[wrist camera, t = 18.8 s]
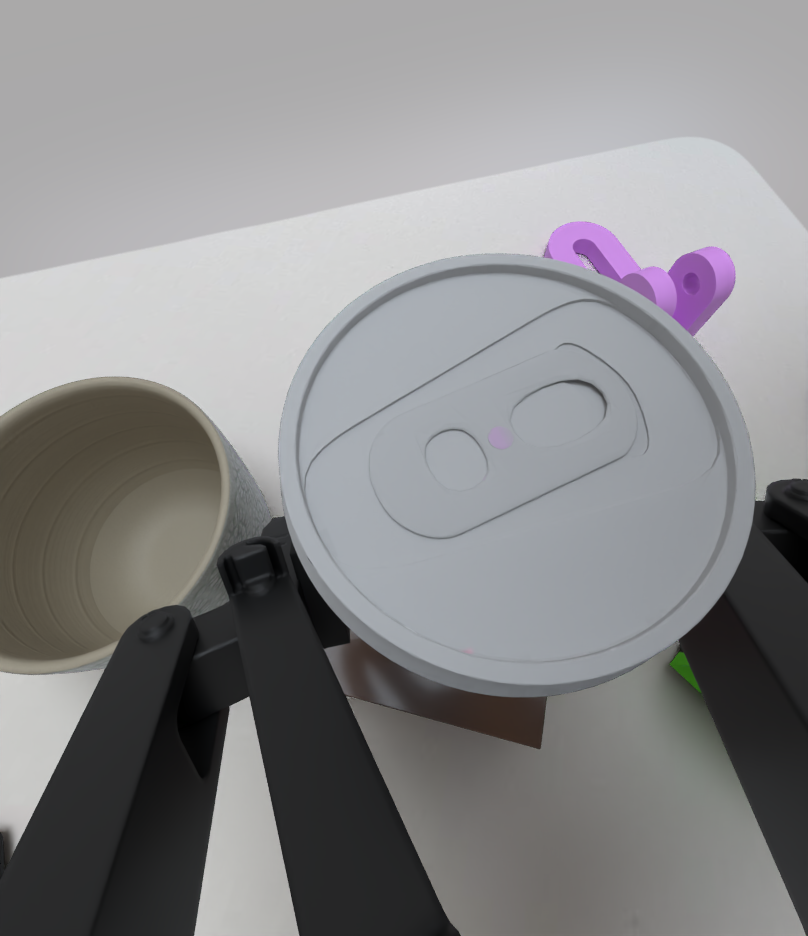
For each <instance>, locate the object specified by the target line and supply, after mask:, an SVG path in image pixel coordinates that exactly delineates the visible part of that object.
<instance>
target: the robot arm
mask: <svg viewBox="0 0 808 936" xmlns="http://www.w3.org/2000/svg"><path fill="white" fill-rule="evenodd" d="M217 568H218V570H219V573H220V576H221V578H222V581H223V583H224V586H225V589H226V591H227V594H228V596H229V601H228V602H227V603H225V604H224V605H222V606H220V607H217V608H215V609H213V610H211V611H208V612H206V613H203V614H201V615H198V616H196V617H194V618H193V617H192V615H191V612H190V611H189V610H188V609H187V608H186V607H185V606H180V605H171V606H164V607H162V608H159V609H156V610H152V611H150V612H148V613H147V614H145V615H143V616H141V617H140V618H139V619H137V620H136V621H135V622H134V623H133V624H131V625H130V626H129V627H128V628H127V630H126V631H125V632H124V634H123V635H122V636H121V638H120V640H119V642H118V644H117V646H116V648H115V650H114V652H113V654H112V656H111V658H110V660H109V662H108V664H107V666H106V668H105V670H104V672H103V674H102V676H101V678H100V680H99V682H98V684H97V686H96V688H95V690H94V692H93V694H92V696H91V698H90V700H89V702H88V704H87V706H86V708H85V710H84V712H83V714H82V716H81V718H80V720H79V722H78V724H77V726H76V729H75V731H74V733H73V735H72V737H71V739H70V741H69V743H68V745H67V747H66V749H65V751H64V753H63V755H62V757H61V759H60V761H59V763H58V765H57V767H56V769H55V771H54V773H53V775H52V777H51V779H50V781H49V783H48V785H47V787H46V789H45V791H44V793H43V795H42V797H41V799H40V801H39V803H38V805H37V807H36V809H35V811H34V813H33V815H32V817H31V819H30V821H29V823H28V825H27V827H26V829H25V831H24V833H23V835H22V837H21V839H20V841H19V843H18V845H17V847H16V849H15V851H14V853H13V855H12V857H11V859H10V861H9V863H8V865H7V867H6V869H5V871H4V873H3V875H2V877H1V879H0V936H194V932H195V926H196V919H197V913H198V907H199V900H200V894H201V887H202V881H203V875H204V868H205V862H206V856H207V849H208V843H209V836H210V830H211V824H212V817H213V811H214V805H215V798H216V792H217V785H218V779H219V773H220V766H221V760H222V754H223V747H224V741H225V734H226V728H227V722H228V715H229V706H230V705H232V704H235V703H237V702H239V701H241V700H243V699H245V698H247V697H249V696H250V701H251V706H252V711H253V716H254V720H255V725H256V730H257V735H258V739H259V744H260V749H261V754H262V759H263V763H264V768H265V773H266V778H267V783H268V787H269V792H270V797H271V802H272V806H273V811H274V816H275V821H276V826H277V830H278V835H279V840H280V845H281V849H282V854H283V859H284V864H285V869H286V873H287V878H288V883H289V888H290V893H291V897H292V902H293V907H294V912H295V916H296V921H297V926H298V931H299V936H461V935H460V934H459V932H458V930H457V929H456V928H455V927H454V926H453V925H452V924H451V923H450V921H449V920H448V918H447V916H446V914H445V912H444V910H443V908H442V906H441V904H440V902H439V900H438V898H437V895H436V893H435V891H434V889H433V887H432V885H431V882H430V880H429V878H428V876H427V874H426V871H425V869H424V867H423V865H422V863H421V860H420V858H419V856H418V854H417V852H416V849H415V847H414V845H413V843H412V841H411V839H410V836H409V834H408V832H407V830H406V828H405V825H404V823H403V821H402V819H401V817H400V814H399V812H398V810H397V808H396V806H395V803H394V801H393V799H392V797H391V795H390V793H389V790H388V788H387V786H386V784H385V782H384V779H383V777H382V775H381V773H380V771H379V768H378V766H377V764H376V762H375V760H374V757H373V755H372V753H371V751H370V749H369V747H368V744H367V742H366V740H365V738H364V736H363V733H362V731H361V729H360V727H359V725H358V722H357V720H356V718H355V716H354V714H353V711H352V709H351V707H350V705H349V703H348V701H347V698H346V696H345V694H344V692H343V690H342V687H341V685H340V683H339V681H338V679H337V676H336V674H335V672H334V670H333V668H332V665H331V663H330V661H329V659H328V657H327V655H326V652H325V650H324V649H325V648H329V647H334V646H339V645H344V644H348V643H350V628H349V627H348V626H347V625H345V624H344V623H343V622H342V620H341V619H340V618H339V617H338V616H337V615H336V614H335V613H334V612H333V610H332V609H331V608H330V607H329V606H328V604H327V603H326V602H325V600H324V599H323V598H322V596H321V595H320V594H319V592H318V591H317V589H316V588H315V586H314V585H313V583H312V581H311V580H310V578H309V577H308V575H307V573H306V571H305V569H304V567H303V565H302V563H301V561H300V559H299V557H298V555H297V552H296V550H295V548H294V545H293V542H292V539H291V536H290V533H289V530H288V527H287V523H286V519H285V516H283V517H278V518H273V519H272V520H271V521H270V522H269V523H268V524H267V525H266V526H265V528H264V529H263V531H262V534H261V536H259V537H253V538H249V539H245V540H243V541H241V542H238V543H236V544H234V545H232V546H231V547H229V548H228V549H227V550H225V551H224V552H223V553H222V554H221V555H220V557H219V558H218V560H217ZM679 642H680V645H681V647H682V649H683V652H684V654H685V656H686V659H687V661H688V663H689V665H690V668H691V670H692V672H693V675H694V677H695V679H696V682H697V684H698V686H699V688H700V691H701V693H702V695H703V698H704V700H705V702H706V705H707V707H708V709H709V711H710V714H711V716H712V718H713V721H714V723H715V725H716V728H717V730H718V732H719V734H720V737H721V739H722V741H723V744H724V746H725V748H726V751H727V753H728V755H729V757H730V760H731V762H732V764H733V767H734V769H735V771H736V774H737V776H738V778H739V780H740V783H741V785H742V787H743V790H744V792H745V794H746V797H747V799H748V801H749V803H750V806H751V808H752V810H753V813H754V815H755V817H756V820H757V822H758V824H759V826H760V829H761V831H762V833H763V836H764V838H765V840H766V843H767V845H768V847H769V849H770V852H771V854H772V856H773V859H774V861H775V863H776V866H777V868H778V870H779V872H780V875H781V877H782V879H783V882H784V884H785V886H786V889H787V891H788V893H789V895H790V898H791V900H792V902H793V905H794V907H795V909H796V912H797V914H798V916H799V918H800V921H801V923H802V925H803V928H804V931H805V933H806V936H808V480H807V479H803V480H801V479H792V480H780V481H776V482H773V483H771V484H770V485H769V486H768V487H767V491H766V496H765V501H755V506H754V514H753V522H752V526H751V530H750V534H749V538H748V541H747V545H746V548H745V551H744V554H743V557H742V559H741V561H740V563H739V565H738V567H737V570H736V572H735V574H734V576H733V577H732V579H731V581H730V583H729V584H728V586H727V588H726V590H725V591H724V593H723V594H722V595H721V597H720V598H719V599H718V601H717V602H716V603H715V605H714V606H713V607H712V608H711V609H710V611H709V612H708V613H707V614H706V615H705V616H704V617H703V619H702V620H701V621H700V622H699V623H698V624H696V625H695V626H694V627H693V628H692V629H691V630H690V631H689V632H688V633H687V634H685V635H684V636H683V637H681V638H680V639H679Z"/></svg>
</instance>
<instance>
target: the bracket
mask: <svg viewBox="0 0 808 936" xmlns="http://www.w3.org/2000/svg"><path fill="white" fill-rule="evenodd" d="M576 253H581V254H584V255H586V256H587V257H588V258H589V259H590V261H591V262H592V263H593V265H594V266H595V268H596V269H597V270H598V272H599V273H600V274H602V275H604V276H607V277H609V278H611V279H613V280H615V281H617V282H619V283H621V284H623V285H625V286H627V287H629V288H631V289H633V290H634V291H636V292H638V293H640V294H641V295H643V296H644V297H646V298H647V299H649V300H650V301H652V302H653V303H654V304H656V305H657V306H658V307H660V308H661V309H663V310H664V311H665V312H666V313H668V314H669V315H670V316H671V317H672V318H674V319H675V320H676V321H677V322H678V323H679V324H680V325H681V326H682V327H683V328H685V329H686V330H687V331H688V332H689V333H690V334H691V335H692V337H693V336H694V335H695V334H696V333H697V331H698V330H699V329H700V328H701V327H702V326H703V325H704V324H705V323H706V321H707V320H708V319H709V318H710V317H711V316H712V315H713V314H714V313H715V311H716V310H717V309H718V308H719V307H720V306H721V305H722V304H723V303H724V301H725V300H726V299H727V298H728V297H729V295H730V294H731V292H732V290H733V287H734V284H735V268H734V264H733V262H732V260H731V258H730V256H729V255H728V254H727V253H726V252H725V251H723V250H722V249H720V248H717V247H705V248H703V249H700V250H697V251H694V252H691V253H688V254H685V255H683V256H681V257H680V258H679V259H678V260H677V261H676V262H675V263H674V265H673V266H672V267H671V269H670V270H669V272H668V273H667V272H665V271H664V270H663V269H661V268H659V267H648V268H645V269H642V270H641V269H640V267H639V266H638V265H637V263H636V262H635V261H634V260H633V258H632V257H631V256H630V255H629V253H628V252H627V251H626V249H625V248H624V247H623V246H622V244H621V243H620V242H619V241H618V239H617V238H616V237H615V236H614V235H613V234H612V233H611V232H610V231H609V230H607V229H606V228H604V227H602V226H600V225H597V224H594V223H590V222H571V223H567V224H565V225H562V226H560V227H559V228H557V229H556V230H555V231H554V232H553V233H552V235H551V237H550V239H549V242H548V245H547V248H546V251H545V254H544V258H550V259H554V260H558V261H563V262H567V263H570V264H574V265H577V266H581V267H583V268H586V267H585V265H584V264H583V263H582V261H581V260H580V258H579V257H578V256H577V254H576ZM586 269H587V268H586Z"/></svg>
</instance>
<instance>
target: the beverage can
mask: <svg viewBox="0 0 808 936" xmlns="http://www.w3.org/2000/svg"><path fill="white" fill-rule="evenodd" d="M278 460H279V474H280V483H281V496H282V503H283V510H284V514H285V519H286V523H287V527H288V530H289V533H290V536H291V539H292V542H293V545H294V548H295V550H296V552H297V555H298V557H299V559H300V561H301V563H302V565H303V567H304V569H305V571H306V573H307V575H308V577H309V578H310V580H311V581H312V583H313V585H314V586H315V588H316V589H317V591H318V592H319V594H320V595H321V596H322V598H323V599H324V600H325V602H326V603H327V604H328V606H329V607H330V608H331V609H332V610H333V612H334V613H335V614H336V615H337V616H338V617H339V618H340V619H341V620H342V622H343V623H344V624H345V625H347V626H348V627H349V628H350V629H351V630H352V631H353V632H354V633H355V634H356V635H357V636H358V637H360V638H361V639H362V640H363V641H365V642H366V643H367V644H368V645H370V646H371V647H372V648H373V649H375V650H376V651H378V652H379V653H381V654H382V655H384V656H385V657H387V658H388V659H390V660H391V661H393V662H395V663H397V664H398V665H400V666H402V667H404V668H406V669H407V670H409V671H411V672H414V673H416V674H418V675H420V676H422V677H425V678H427V679H429V680H432V681H435V682H438V683H440V684H443V685H446V686H449V687H453V688H456V689H460V690H464V691H468V692H473V693H479V694H484V695H490V696H501V697H543V696H554V695H560V694H565V693H571V692H576V691H579V690H583V689H587V688H590V687H594V686H597V685H599V684H602V683H605V682H607V681H610V680H613V679H615V678H617V677H619V676H621V675H623V674H625V673H627V672H629V671H631V670H633V669H634V668H636V667H638V666H639V665H641V664H643V663H644V662H646V661H648V660H649V659H650V658H652V657H653V656H655V655H656V654H658V653H660V652H661V651H663V650H665V649H666V648H668V647H670V646H671V645H672V644H674V643H675V642H676V641H677V640H679V639H680V638H681V637H683V636H684V635H685V634H687V633H688V632H689V631H690V630H691V629H692V628H693V627H694V626H695V625H696V624H698V623H699V622H700V621H701V620H702V619H703V617H704V616H705V615H706V614H707V613H708V612H709V611H710V609H711V608H712V607H713V606H714V605H715V603H716V602H717V601H718V599H719V598H720V597H721V595H722V594H723V593H724V591H725V590H726V588H727V586H728V584H729V583H730V581H731V579H732V577H733V576H734V574H735V572H736V570H737V567H738V565H739V563H740V561H741V559H742V557H743V554H744V551H745V548H746V545H747V541H748V538H749V534H750V530H751V526H752V522H753V514H754V506H755V490H756V483H755V467H754V460H753V452H752V447H751V443H750V439H749V434H748V431H747V428H746V425H745V421H744V418H743V416H742V413H741V411H740V408H739V406H738V403H737V401H736V399H735V397H734V395H733V393H732V391H731V389H730V387H729V385H728V384H727V382H726V380H725V379H724V377H723V375H722V373H721V372H720V370H719V369H718V368H717V366H716V365H715V363H714V362H713V360H712V359H711V358H710V356H709V355H708V354H707V353H706V351H705V350H704V349H703V348H702V346H701V345H700V344H699V343H698V342H697V341H696V340H695V339H694V338H693V337H692V335H691V334H690V333H689V332H688V331H687V330H686V329H685V328H683V327H682V326H681V325H680V324H679V323H678V322H677V321H676V320H675V319H674V318H672V317H671V316H670V315H669V314H668V313H666V312H665V311H664V310H663V309H661V308H660V307H658V306H657V305H656V304H654V303H653V302H652V301H650V300H649V299H647V298H646V297H644V296H643V295H641V294H640V293H638V292H636V291H634V290H633V289H631V288H629V287H627V286H625V285H623V284H621V283H619V282H617V281H615V280H613V279H611V278H609V277H607V276H604V275H602V274H599V273H597V272H595V271H592V270H589V269H586V268H583V267H581V266H577V265H574V264H570V263H567V262H563V261H558V260H554V259H550V258H544V257H538V256H531V255H521V254H503V253H496V254H475V255H466V256H458V257H452V258H447V259H442V260H438V261H434V262H431V263H427V264H424V265H421V266H418V267H415V268H412V269H409V270H407V271H404V272H402V273H399V274H397V275H395V276H393V277H391V278H389V279H387V280H385V281H383V282H381V283H380V284H378V285H376V286H374V287H373V288H371V289H369V290H368V291H366V292H365V293H364V294H362V295H361V296H359V297H358V298H357V299H355V300H354V301H353V302H351V303H350V304H349V305H347V306H346V307H345V308H344V309H343V310H342V311H341V312H340V313H339V314H338V315H337V316H336V317H335V318H334V319H333V320H332V321H331V322H330V323H329V324H328V325H327V326H326V327H325V328H324V329H323V331H322V332H321V333H320V334H319V336H318V337H317V338H316V340H315V341H314V342H313V344H312V345H311V347H310V348H309V350H308V351H307V353H306V355H305V356H304V358H303V360H302V362H301V363H300V365H299V367H298V369H297V371H296V374H295V376H294V378H293V380H292V383H291V385H290V388H289V390H288V394H287V397H286V401H285V404H284V408H283V413H282V418H281V422H280V432H279V446H278Z"/></svg>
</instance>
